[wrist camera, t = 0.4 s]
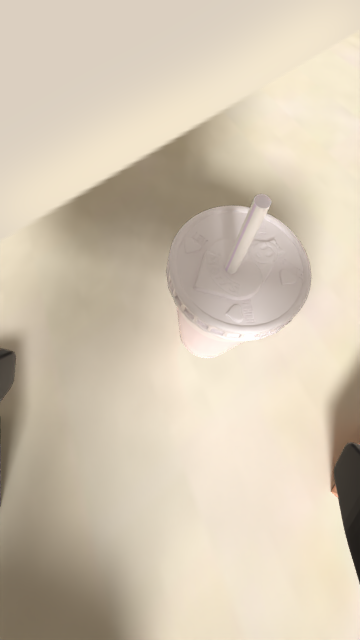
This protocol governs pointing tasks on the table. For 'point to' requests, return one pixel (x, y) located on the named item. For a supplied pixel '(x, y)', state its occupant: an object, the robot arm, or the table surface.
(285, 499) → the table surface
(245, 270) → the smoothie
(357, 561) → the robot arm
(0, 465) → the slate block
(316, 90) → the table surface
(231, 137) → the table surface
